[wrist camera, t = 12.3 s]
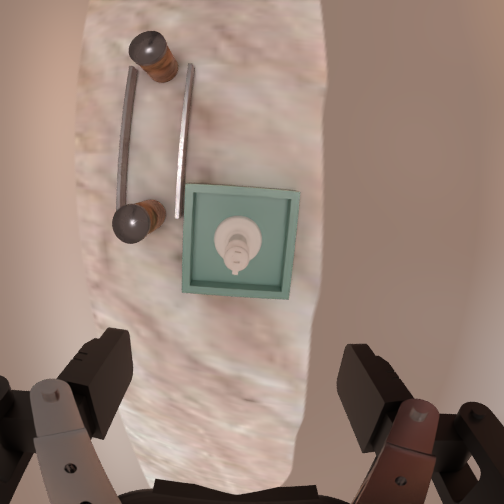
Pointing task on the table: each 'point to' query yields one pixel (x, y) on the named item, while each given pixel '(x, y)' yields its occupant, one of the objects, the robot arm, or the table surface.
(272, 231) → the tray
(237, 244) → the chess piece
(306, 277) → the table surface
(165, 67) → the rail
